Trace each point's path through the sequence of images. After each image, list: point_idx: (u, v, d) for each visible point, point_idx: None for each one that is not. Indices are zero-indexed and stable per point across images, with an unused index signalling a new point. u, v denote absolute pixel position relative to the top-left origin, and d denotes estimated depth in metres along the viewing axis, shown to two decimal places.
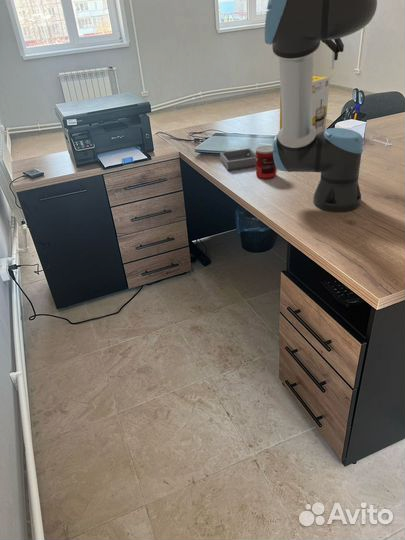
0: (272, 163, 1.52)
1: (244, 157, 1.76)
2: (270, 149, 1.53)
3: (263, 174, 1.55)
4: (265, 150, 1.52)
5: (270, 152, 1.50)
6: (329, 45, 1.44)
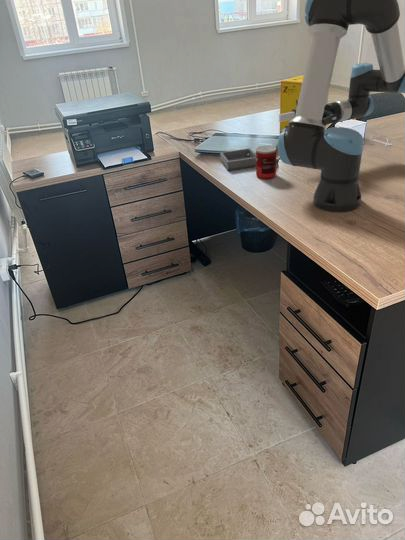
0: (272, 163, 1.52)
1: (244, 157, 1.76)
2: (270, 149, 1.52)
3: (263, 174, 1.55)
4: (265, 150, 1.52)
5: (270, 152, 1.50)
6: None
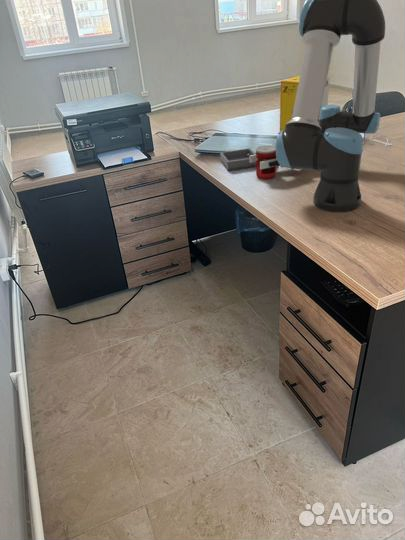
0: None
1: (244, 157, 1.76)
2: (270, 149, 1.52)
3: (263, 174, 1.55)
4: (265, 150, 1.52)
5: (270, 152, 1.50)
6: None
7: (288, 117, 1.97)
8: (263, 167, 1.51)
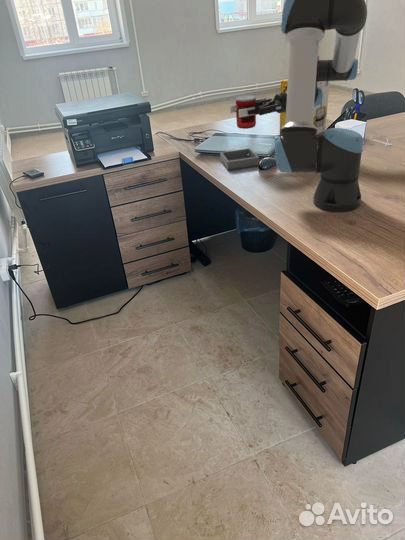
0: None
1: (244, 157, 1.76)
2: (249, 98, 1.55)
3: (242, 123, 1.58)
4: (244, 99, 1.55)
5: (249, 100, 1.53)
6: (263, 105, 1.56)
7: None
8: (242, 115, 1.54)
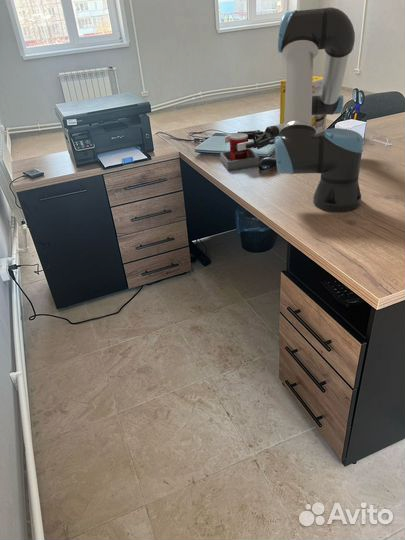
0: None
1: None
2: (242, 136, 1.66)
3: (236, 159, 1.68)
4: (238, 137, 1.66)
5: (242, 139, 1.63)
6: (258, 138, 1.65)
7: None
8: (240, 149, 1.62)
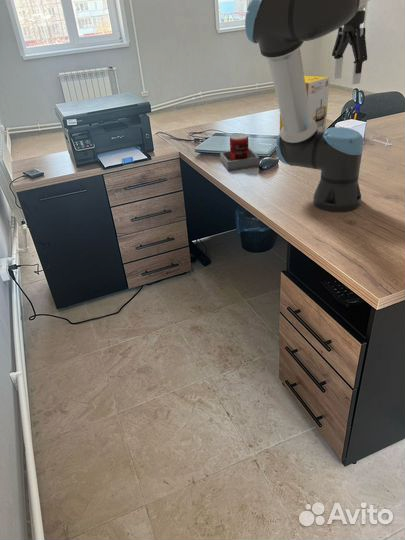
0: (244, 149, 1.66)
1: None
2: (242, 136, 1.66)
3: (236, 159, 1.68)
4: (238, 137, 1.65)
5: (242, 139, 1.63)
6: (353, 50, 1.33)
7: None
8: (358, 80, 1.36)
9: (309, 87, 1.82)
